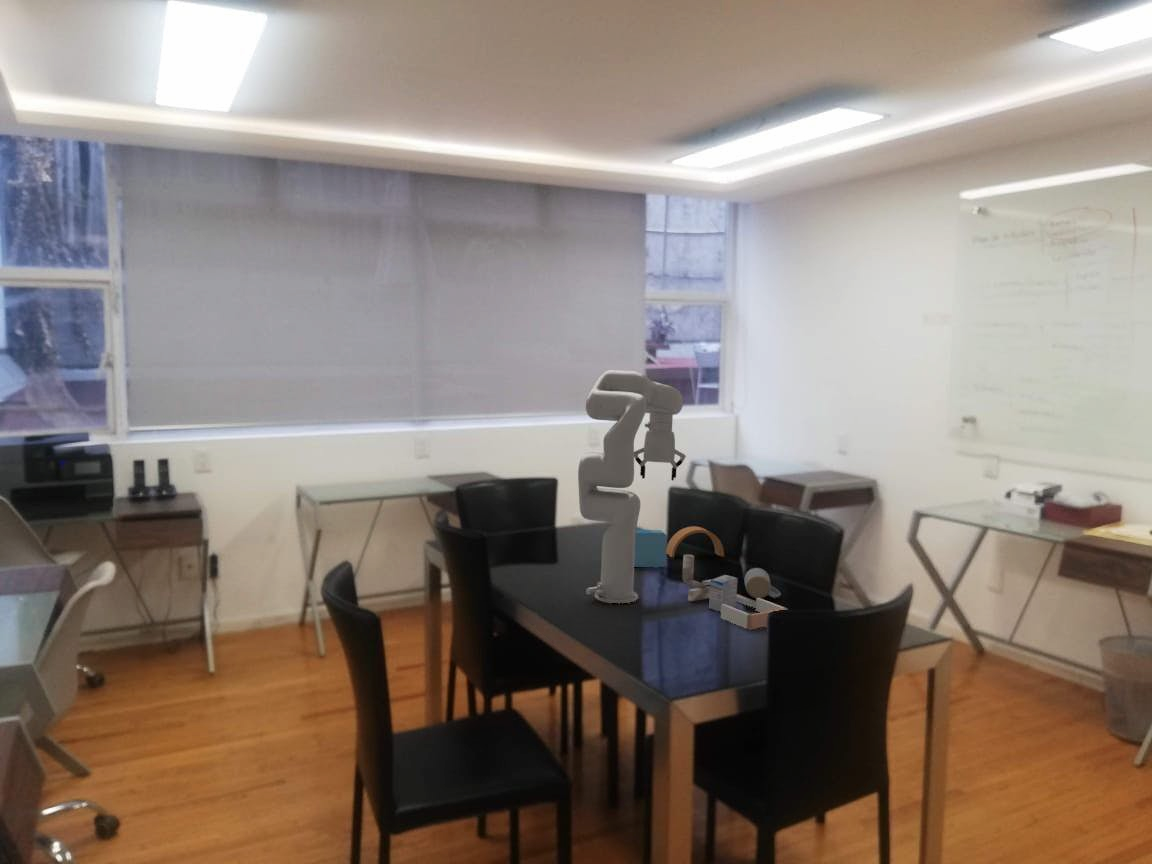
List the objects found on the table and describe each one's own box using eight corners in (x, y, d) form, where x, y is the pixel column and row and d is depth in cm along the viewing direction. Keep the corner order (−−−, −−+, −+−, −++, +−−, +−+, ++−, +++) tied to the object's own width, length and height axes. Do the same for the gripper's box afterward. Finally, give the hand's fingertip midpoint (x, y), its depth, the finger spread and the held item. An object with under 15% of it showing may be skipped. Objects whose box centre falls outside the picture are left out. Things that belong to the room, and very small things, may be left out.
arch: (724, 557, 308) (725, 529, 307) (671, 558, 303) (672, 530, 302) (717, 553, 314) (718, 525, 313) (665, 554, 309) (666, 526, 308)
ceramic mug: (745, 599, 258) (747, 573, 257) (743, 591, 266) (745, 566, 265) (781, 602, 257) (783, 576, 256) (778, 594, 265) (780, 569, 264)
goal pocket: (749, 630, 229) (750, 615, 229) (720, 618, 238) (721, 604, 238) (787, 623, 237) (788, 608, 236) (758, 611, 246) (758, 597, 246)
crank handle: (693, 602, 251) (695, 564, 250) (670, 592, 260) (672, 556, 258) (733, 595, 259) (736, 559, 258) (709, 586, 268) (711, 551, 267)
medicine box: (722, 603, 253) (724, 574, 252) (736, 607, 250) (738, 577, 249) (708, 609, 246) (710, 579, 246) (722, 613, 244) (724, 582, 243)
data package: (662, 564, 294) (664, 529, 292) (665, 568, 289) (667, 532, 288) (627, 564, 292) (628, 529, 291) (629, 568, 288) (631, 532, 286)
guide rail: (760, 611, 247) (760, 606, 246) (712, 592, 263) (713, 587, 263) (765, 610, 248) (766, 605, 248) (717, 591, 264) (718, 586, 264)
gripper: (633, 426, 285) (630, 478, 286) (686, 429, 282) (684, 482, 284) (635, 425, 292) (632, 475, 294) (687, 427, 290) (684, 478, 291)
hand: (657, 478), depth 289 cm, fingers open, 9 cm apart
